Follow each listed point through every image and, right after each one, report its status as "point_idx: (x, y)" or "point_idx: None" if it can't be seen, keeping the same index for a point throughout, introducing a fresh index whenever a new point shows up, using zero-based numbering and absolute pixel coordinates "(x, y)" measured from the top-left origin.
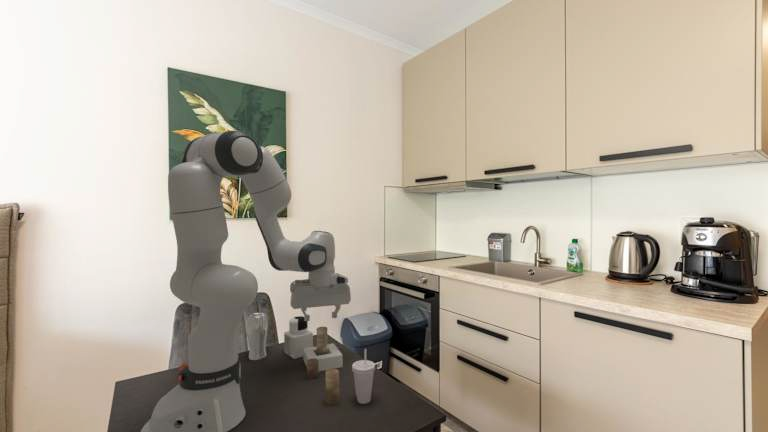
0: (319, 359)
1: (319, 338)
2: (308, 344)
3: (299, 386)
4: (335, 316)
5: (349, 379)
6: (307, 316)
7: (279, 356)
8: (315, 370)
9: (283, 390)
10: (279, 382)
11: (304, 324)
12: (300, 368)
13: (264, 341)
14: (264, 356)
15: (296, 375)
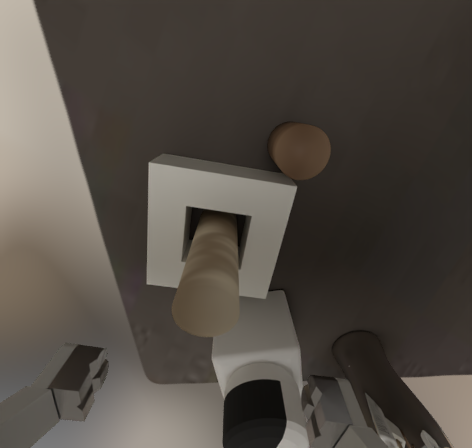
0: (254, 179)
1: (232, 264)
2: None
3: (360, 99)
4: (73, 354)
5: (176, 27)
6: (345, 419)
7: (308, 323)
8: (295, 123)
9: (416, 105)
10: (394, 171)
11: (250, 404)
12: (294, 225)
13: (366, 382)
14: (346, 337)
15: (327, 186)
